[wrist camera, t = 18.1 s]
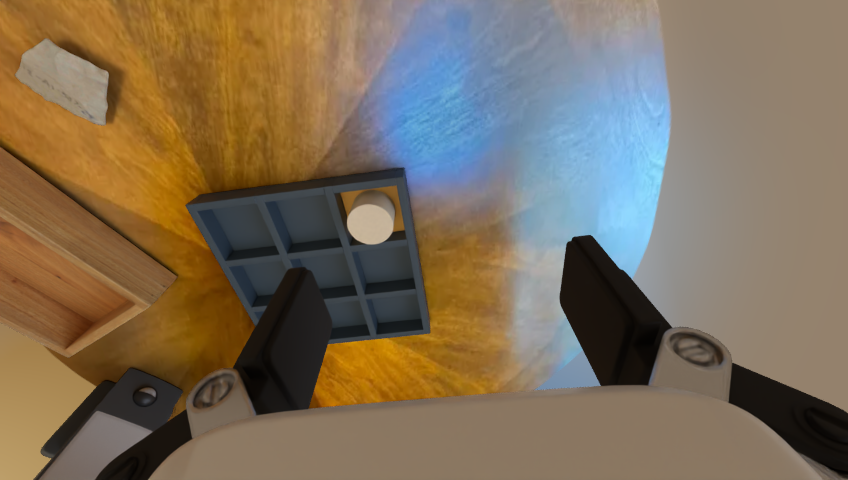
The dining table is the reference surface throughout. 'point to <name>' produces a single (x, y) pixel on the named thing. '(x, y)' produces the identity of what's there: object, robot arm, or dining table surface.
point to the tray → (66, 266)
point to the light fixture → (108, 425)
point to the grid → (320, 251)
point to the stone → (66, 80)
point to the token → (371, 217)
